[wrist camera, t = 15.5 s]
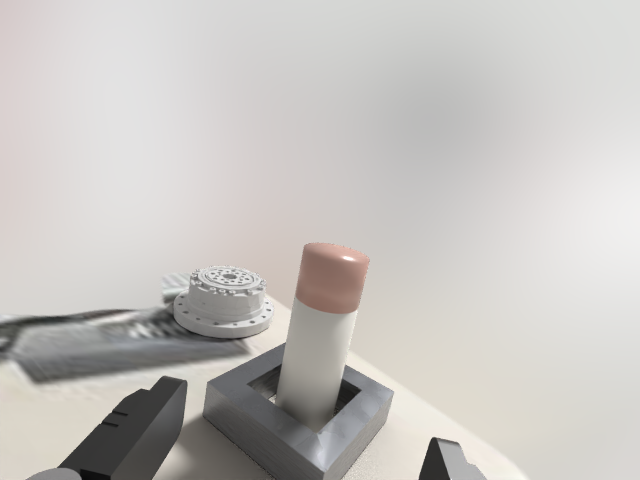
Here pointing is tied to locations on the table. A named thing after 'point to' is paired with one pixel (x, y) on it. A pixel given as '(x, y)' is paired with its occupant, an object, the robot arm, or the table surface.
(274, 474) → the socket
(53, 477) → the robot arm
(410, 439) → the table surface
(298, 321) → the peg
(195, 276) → the mechanical component
